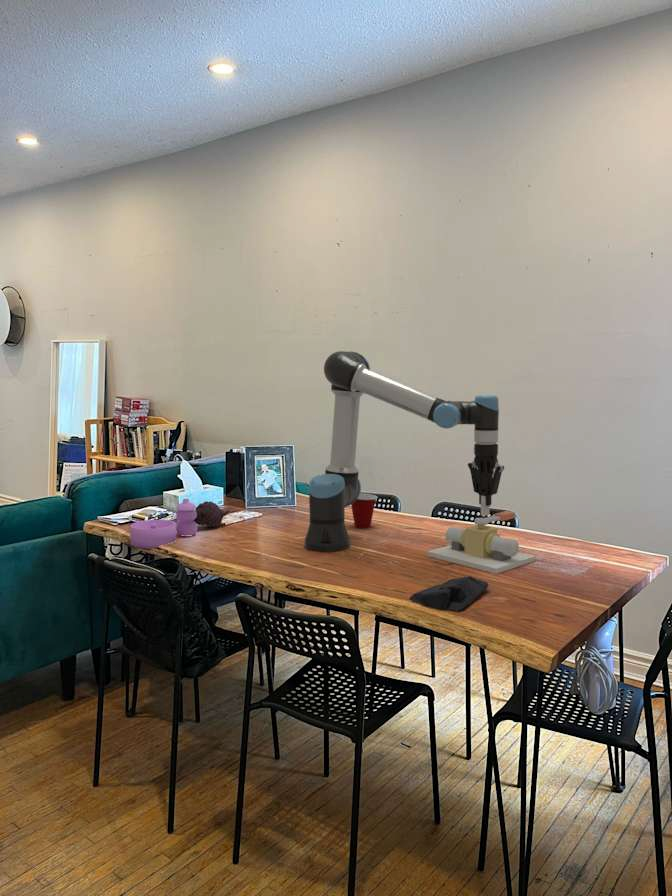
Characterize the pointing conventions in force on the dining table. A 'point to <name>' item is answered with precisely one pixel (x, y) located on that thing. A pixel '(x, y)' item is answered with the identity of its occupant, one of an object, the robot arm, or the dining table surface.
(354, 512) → the plastic cup
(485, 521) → the valve lever
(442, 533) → the dining table surface
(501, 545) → the pipe board
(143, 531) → the container set
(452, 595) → the black crumpled cloth
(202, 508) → the pine cone
